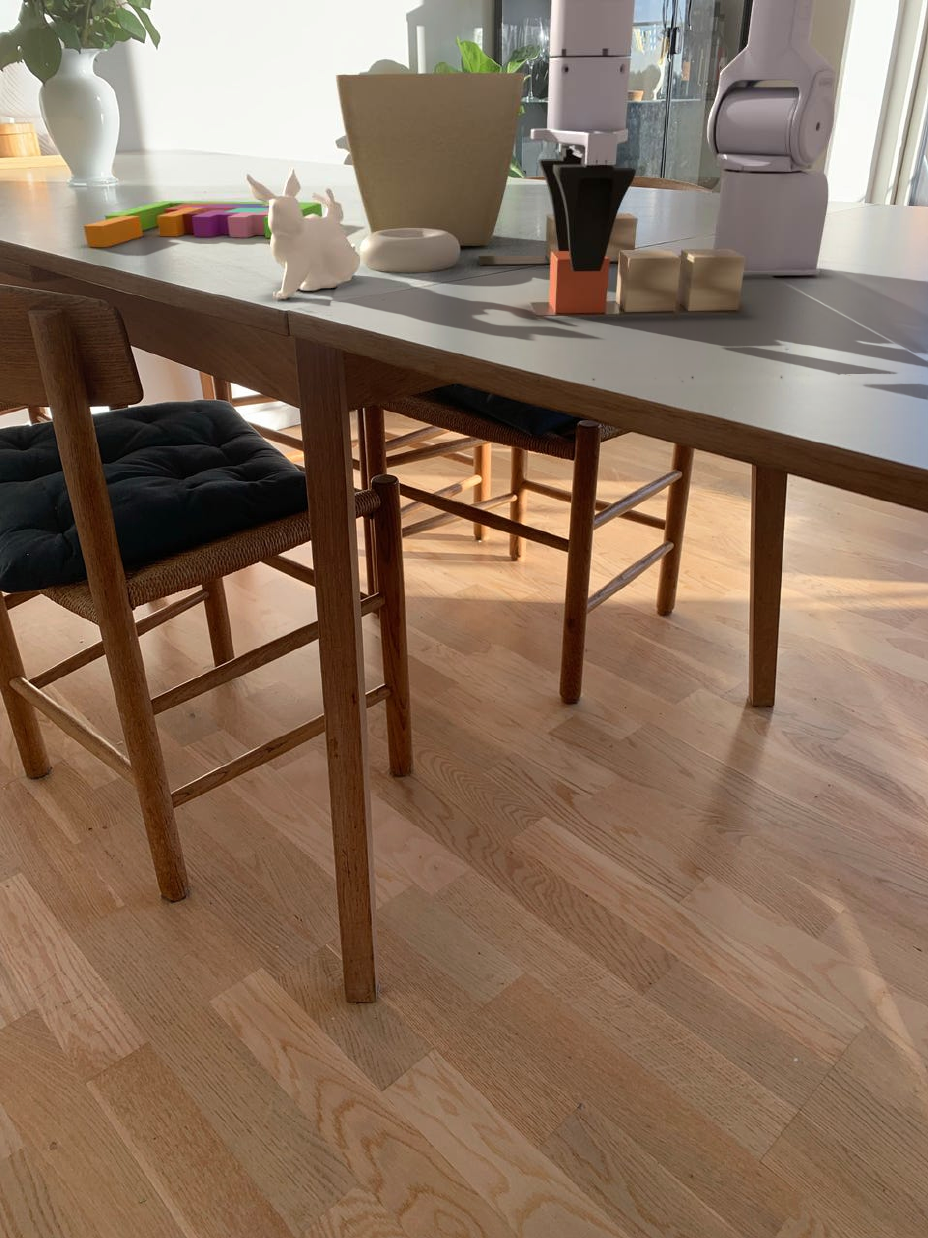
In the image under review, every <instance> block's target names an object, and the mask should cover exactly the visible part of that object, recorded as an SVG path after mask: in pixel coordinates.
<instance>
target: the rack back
mask: <svg viewBox="0 0 928 1238" xmlns="http://www.w3.org/2000/svg"><path fill="white" fill-rule="evenodd" d="M637 227H638V218H637V217H636V216H634V215H633V214H632V213H630V212H623V213H622V212H621V213H619V212H617V215H616V218H615V221H614V225H613V228H612V232H611V236H610V240H609V244H608V248H607V252H606V256H607V257H608V258H609V266H610V265H611V266H613V265H614V266H615V265H617V266H618V264H619V251H620V250H636V242H637V241H636V240H637ZM545 229H546V233H545V254H534V255H533V254H532V255H531V254H530V255H478V256H477V261H478V263H479V264H478V265H479V267H483V268H484V267H485V268H486V267H487V268H488V267H540V266H541V267H542V266H543V267H545V266H548V267H550V265H551V251H558V247H557V241H556V234H555V226H554V217H553V213H552V214H551V213H550V214H549V213H548V214H546V228H545Z"/></svg>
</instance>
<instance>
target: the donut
mask: <svg viewBox="0 0 928 1238" xmlns="http://www.w3.org/2000/svg"><path fill="white" fill-rule="evenodd" d="M460 253H461V246H460V244H459V242H458V240H457V238H456V237H455V236H454V235H452V234H450V233H448V232H446V231H443V230H437V229H426V228H402V229H390V230H383V231H377V232H374V233H372V232H371V233H370V234H368V235H366V237H364V239H363V240H362V241H361V244H360V246H359V257H360V260H361V261H362V263H363V265H365V266H366V267H367V268H368V269H370V270H373V271H377V272H384V273H397V274H415V273H417V274H418V273H431V272H439V271H443V270H447V269H450V268H452V267H454V266H455V265H456V264H457V263H458V260H459V258H460V255H461V254H460Z"/></svg>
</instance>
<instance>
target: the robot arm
mask: <svg viewBox="0 0 928 1238" xmlns="http://www.w3.org/2000/svg"><path fill="white" fill-rule="evenodd" d="M816 2H817V0H753V1H752V7H751V16H750V25H749V33H748V40H747V45H746V47H744V48H743V50H741V52H740V53H738V55H736V56H735V57H734V58H733V59H732V60H731V61H730V62H729V63H728V64H727V65H726V66H725V67H724V68H723V69H722V71H721V72H720V74H719V82H718V87H717V92H716V96H715V98H714V103H713V105H712V107H711V109H710V112H709V116H708V119H707V126H706V127H707V129H706V130H707V131H706V136H707V142H708V147H709V150H710V153H711V154H712V155H711V156H713V158H714V159H715V160H716V166H715V167H716V168H717V169H723V170H722V177H721V185H720V193H719V200H718V210H717V217H716V225H715V233H714V240H713V241H714V242H713V249H732V250H734V251H735V252H737V253H739V254H741V255H743V256H745V257H746V258H745V265H744V272H743V276H744V275H748V276H749V275H751V276H752V275H768V276H770V277H778V276H779V277H780V276H781V277H784V276H785V277H786V276H788V277H789V276H790V277H791V276H818V275H819V273H820V270H819V269H818V268H817V267H818V261H819V255H820V250H821V244H822V239H823V233H824V228H825V221H826V215H827V210H828V206H829V181H828V178H827V176H826V174H825V172H823V170H819V169H812V168H813V164H814V163H816V162H817V161H818V160H819V158H820V157H821V156H822V154H823V153H824V152H825V150H826V149H827V146H828V145H829V142H830V139H831V136H832V133H833V128H834V123H835V104H834V90H835V82H836V81H835V80H836V69H834V67H833V66H832V64H830V62H828V60H827V59H826V58H825V57H824V56H823V55H822V54H821V53H820V52H819V51H818V50H817V49H816V48H815V47H814V46H813V45H812V44H811V41H810V39H811V33H812V27H813V21H814V14H815V8H816ZM635 6H636V0H551V9H550V35H549V38H550V39H549V63H548V68H549V69H548V93H547V94H548V95H547V96H548V97H547V118H546V119H547V122H546V124H547V125H546V128H531V129H530V139H531V140H532V141H544V142H547V143H552V144H553V143H554V144H558V152H559V153H561V154H560V155H559V156H558V158H541V159H539V160H538V164H539V167H540V169H541V171H542V172H541V173H542V175H543V177H544V181H545V182H546V187H547V190H548V193H549V198H550V204H551V208H552V209H551V210H552V214H553V217H554V226H555V234H556V241H557V247H558V251H569V254H570V261H571V265H572V270H573V271H601V268H602V265H603V262H604V259H605V256H606V252H607V248H608V244H609V240H610V236H611V232H612V228H613V225H614V221H615V218H616V215H617V213H619V209H620V207H621V204H622V203H623V200H624V198H625V196H626V194H627V192H628V190H629V188H630V187H631V185H632V183H633V181H634V179H635V176H636V172H637V170H636V169H635V168H632V167H614V166H615V165H617V154H618V145H620V144H622V143H625V142H627V141H628V139H629V129H628V128H626V126H627V112H628V101H629V87H630V86H629V85H630V75H631V74H630V73H631V60H632V58H631V57H632V47H633V45H632V44H633V43H632V42H633V34H634V33H633V30H634V29H633V28H634V18H635ZM765 81H789V82H792V83H794V84H795V86H756V85H758V84H759V83H762V82H765Z"/></svg>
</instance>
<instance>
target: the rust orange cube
mask: <svg viewBox="0 0 928 1238" xmlns="http://www.w3.org/2000/svg"><path fill="white" fill-rule="evenodd" d="M609 270H610V265H609V258H608V257H607V256H605V259H604V262H603V265H602V268H601V271H573V270H572V265H571V261H570V254H569V251H551V265H550V266H549V292H548V293H549V294H548V295H549V296H548V302H549V303H550V305H551V307H552V309H553V310H554V312H555V313H556V314H561V313H606V303H607V301H608V286H609V272H610V271H609Z"/></svg>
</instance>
